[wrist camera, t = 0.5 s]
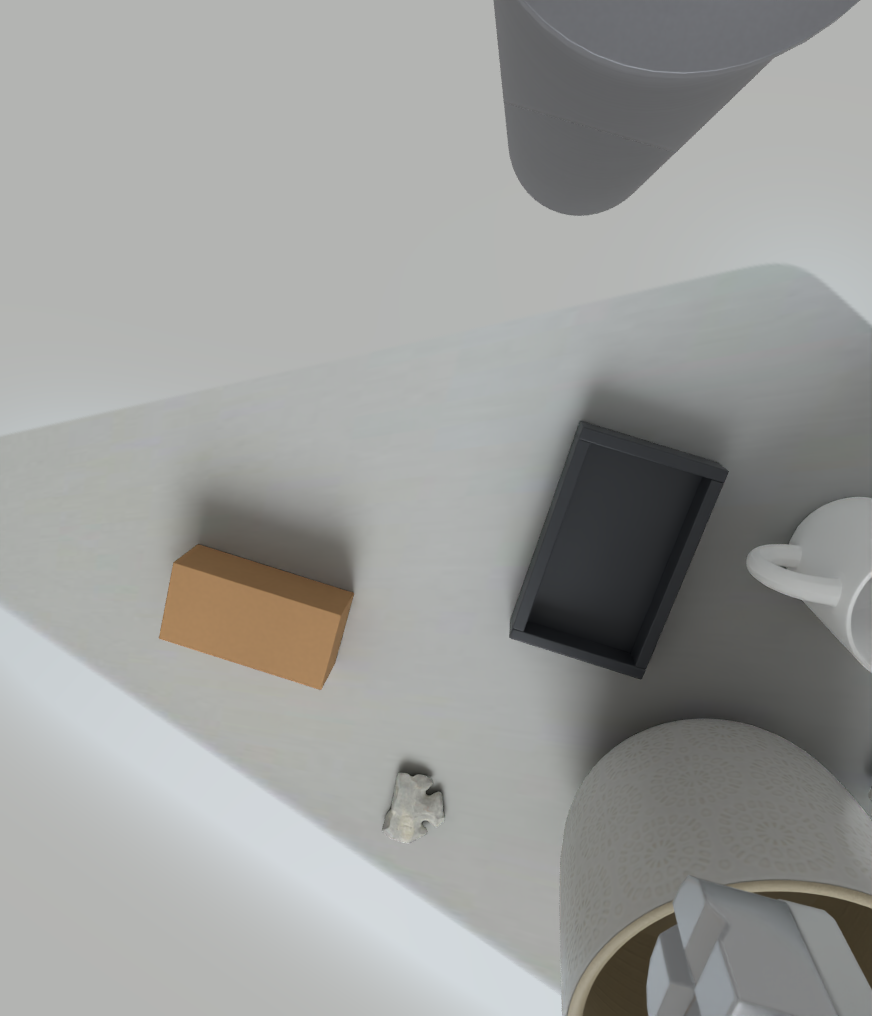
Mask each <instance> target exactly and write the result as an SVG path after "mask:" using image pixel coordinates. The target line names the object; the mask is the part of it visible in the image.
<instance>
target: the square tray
mask: <svg viewBox="0 0 872 1016" xmlns="http://www.w3.org/2000/svg"><path fill="white" fill-rule="evenodd" d="M868 797H869V798H870V800H871V801H872V787H871V789H870V791H869V793H868Z"/></svg>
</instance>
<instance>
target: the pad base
mask: <svg viewBox="0 0 872 1016" xmlns="http://www.w3.org/2000/svg"><path fill="white" fill-rule="evenodd" d="M728 472H729V471H728V470H726V469H725V468H724V467H723V466H722V465H720V464H719V463H718V462H715V461H712V460H709V459H705V458H702V457H699V456H695V455H692V454H689V453H686V452H682V451H679V450H676V449H672V448H669V447H666V446H662V445H659V444H656V443H653V442H649V441H646V440H643V439H639V438H636V437H633V436H630V435H626V434H623V433H620V432H616V431H613V430H610V429H606V428H603V427H600V426H597V425H593V424H590V423H587V422H583V421H580V422H579V425H578V428H577V431H576V433H575V436H574V439H573V442H572V445H571V448H570V451H569V454H568V456H567V459H566V462H565V465H564V468H563V471H562V474H561V477H560V479H559V482H558V485H557V488H556V491H555V494H554V497H553V500H552V502H551V505H550V508H549V511H548V514H547V517H546V520H545V523H544V525H543V528H542V531H541V534H540V537H539V540H538V543H537V546H536V548H535V551H534V554H533V557H532V560H531V563H530V566H529V569H528V571H527V574H526V577H525V580H524V583H523V586H522V589H521V592H520V594H519V597H518V600H517V603H516V606H515V609H514V612H513V615H512V617H511V620H510V634H509V638H511V639H514V640H517V641H520V642H524V643H527V644H530V645H533V646H536V647H540V648H543V649H546V650H549V651H552V652H556V653H559V654H562V655H565V656H568V657H571V658H575V659H578V660H581V661H584V662H587V663H591V664H594V665H597V666H600V667H603V668H607V669H610V670H613V671H616V672H619V673H623V674H626V675H629V676H632V677H635V678H638V679H642V677H643V675H644V673H645V669H646V668H647V666H648V663H649V661H650V658H651V656H652V654H653V651H654V649H655V646H656V644H657V642H658V639H659V637H660V634H661V632H662V630H663V627H664V625H665V622H666V620H667V618H668V615H669V613H670V610H671V608H672V606H673V603H674V601H675V598H676V596H677V594H678V591H679V589H680V587H681V584H682V582H683V579H684V577H685V575H686V572H687V570H688V567H689V565H690V563H691V560H692V558H693V555H694V553H695V551H696V548H697V546H698V543H699V541H700V539H701V536H702V534H703V531H704V529H705V527H706V524H707V522H708V519H709V517H710V515H711V512H712V510H713V508H714V505H715V503H716V500H717V498H718V496H719V493H720V491H721V488H722V486H723V483H724V482H725V479H726V477H727V474H728Z"/></svg>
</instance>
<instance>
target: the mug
mask: <svg viewBox="0 0 872 1016" xmlns="http://www.w3.org/2000/svg"><path fill="white" fill-rule="evenodd" d="M746 566H747V568H748V570H749V572H750V574H751V575H752V576H753V577H754V578H755V579H757V580H758V581H759V582H761V583H762V584H764V585H765V586H767V587H769V588H771V589H773V590H775V591H777V592H780V593H782V594H785V595H788V596H791V597H794V598H797V599H800V600H802V601H803V602H804V603H805V604H806V605H807V606H808V607H809V608H810V610H811V611H812V612H813V613H814V614H815V615H816V616H817V617H818V618H819V619H820V620H821V621H822V623H823V624H824V625H825V626H826V627H827V628H828V629H829V630H830V631H831V632H832V633H833V634H834V636H835V637H836V638H837V639H838V640H839V641H840V642H841V643H842V644H843V645H844V646H845V647H846V649H847V650H848V651H849V652H850V653H851V654H852V655H853V656H854V657H855V658H856V659H857V660H858V662H859V663H860V664H861V665H862V666H863V667H864V668H866V669H867V670H868V671H869V672H870V673H872V498H868V497H850V498H844V499H839V500H836V501H833V502H830V503H828V504H825V505H824V506H822V507H820V508H818V509H817V510H815V511H814V512H812V513H811V514H810V515H809V516H807V517H806V518H805V519H804V520H803V521H802V523H801V524H800V525H799V526H798V528H797V529H796V531H795V532H794V534H793V536H792V538H791V540H790V542H789V545H788V544H769V545H763V546H759V547H757V548H754V549H753V550H752V551H751V552H750V553H749V554H748V556H747V558H746ZM780 566H785V567H787V569H784V568H782V567H780Z"/></svg>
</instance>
